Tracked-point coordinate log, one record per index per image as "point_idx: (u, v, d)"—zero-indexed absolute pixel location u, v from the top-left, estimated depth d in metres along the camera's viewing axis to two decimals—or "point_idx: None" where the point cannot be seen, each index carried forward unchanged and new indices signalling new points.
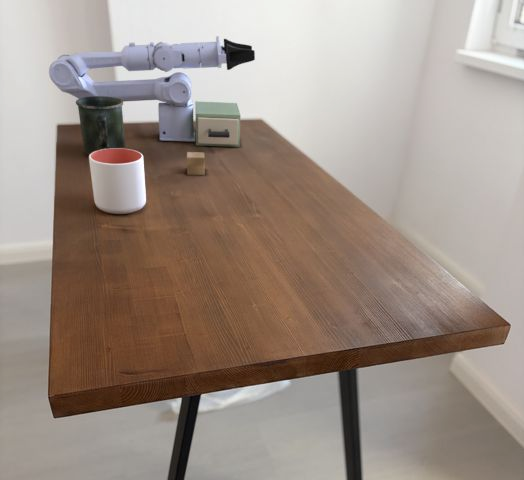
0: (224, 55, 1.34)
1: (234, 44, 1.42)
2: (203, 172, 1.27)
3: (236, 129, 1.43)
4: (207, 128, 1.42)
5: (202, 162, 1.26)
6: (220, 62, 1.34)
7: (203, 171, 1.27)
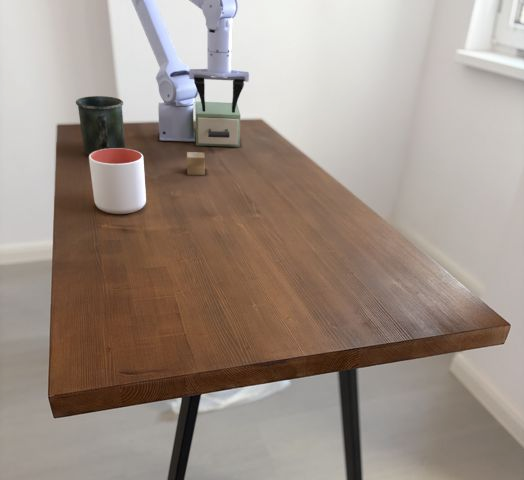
0: (189, 77, 1.33)
1: (233, 94, 1.36)
2: (203, 172, 1.27)
3: (236, 129, 1.43)
4: (207, 128, 1.42)
5: (202, 162, 1.26)
6: None
7: (203, 171, 1.27)
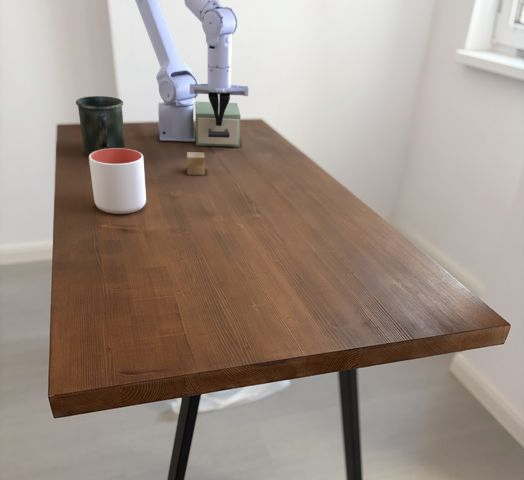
0: (189, 92, 1.35)
1: (220, 107, 1.37)
2: (203, 172, 1.27)
3: (236, 129, 1.43)
4: (207, 128, 1.42)
5: (202, 162, 1.26)
6: None
7: (203, 171, 1.27)
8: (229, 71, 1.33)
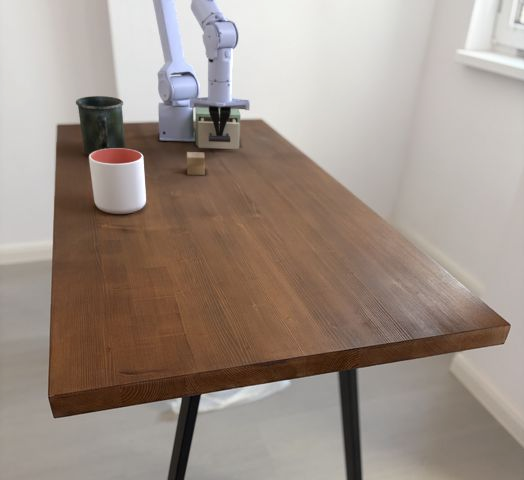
0: (189, 106, 1.33)
1: (220, 121, 1.35)
2: (203, 172, 1.27)
3: (237, 133, 1.40)
4: (207, 132, 1.39)
5: (202, 162, 1.26)
6: (189, 99, 1.33)
7: (203, 171, 1.27)
8: (230, 85, 1.30)
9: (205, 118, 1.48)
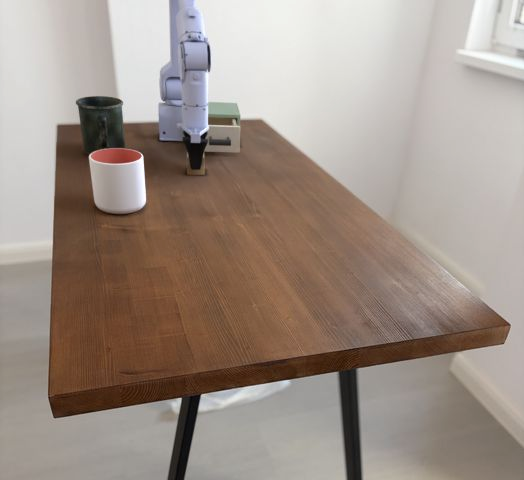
0: None
1: None
2: (203, 172, 1.27)
3: (238, 137, 1.38)
4: (208, 136, 1.37)
5: (202, 162, 1.26)
6: None
7: (203, 171, 1.27)
8: (188, 110, 1.18)
9: None
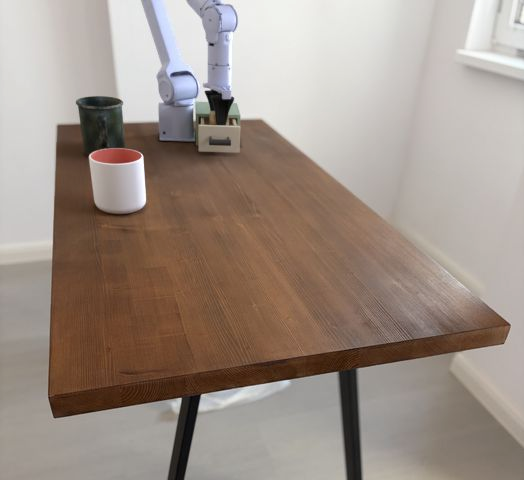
0: None
1: None
2: None
3: (238, 137, 1.38)
4: (208, 136, 1.37)
5: (227, 119, 1.37)
6: None
7: None
8: (216, 69, 1.29)
9: (205, 121, 1.46)
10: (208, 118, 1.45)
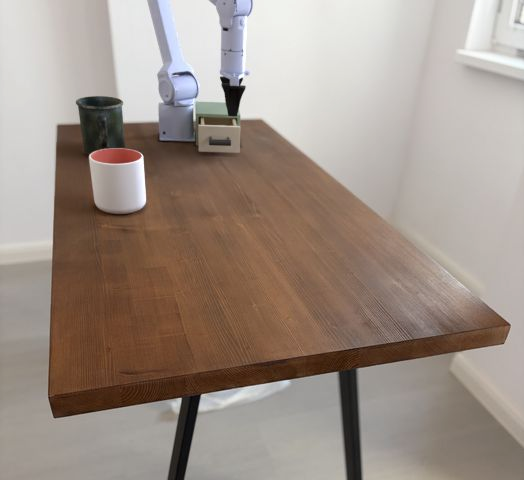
0: (237, 84, 1.25)
1: None
2: None
3: (238, 137, 1.38)
4: (208, 136, 1.37)
5: None
6: (231, 78, 1.24)
7: None
8: None
9: (205, 121, 1.46)
10: (208, 118, 1.45)
